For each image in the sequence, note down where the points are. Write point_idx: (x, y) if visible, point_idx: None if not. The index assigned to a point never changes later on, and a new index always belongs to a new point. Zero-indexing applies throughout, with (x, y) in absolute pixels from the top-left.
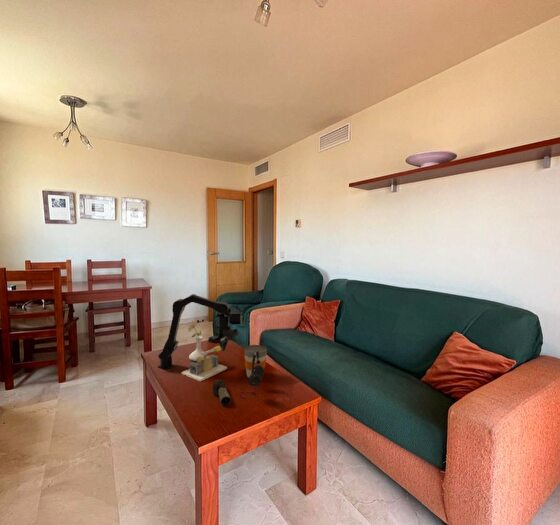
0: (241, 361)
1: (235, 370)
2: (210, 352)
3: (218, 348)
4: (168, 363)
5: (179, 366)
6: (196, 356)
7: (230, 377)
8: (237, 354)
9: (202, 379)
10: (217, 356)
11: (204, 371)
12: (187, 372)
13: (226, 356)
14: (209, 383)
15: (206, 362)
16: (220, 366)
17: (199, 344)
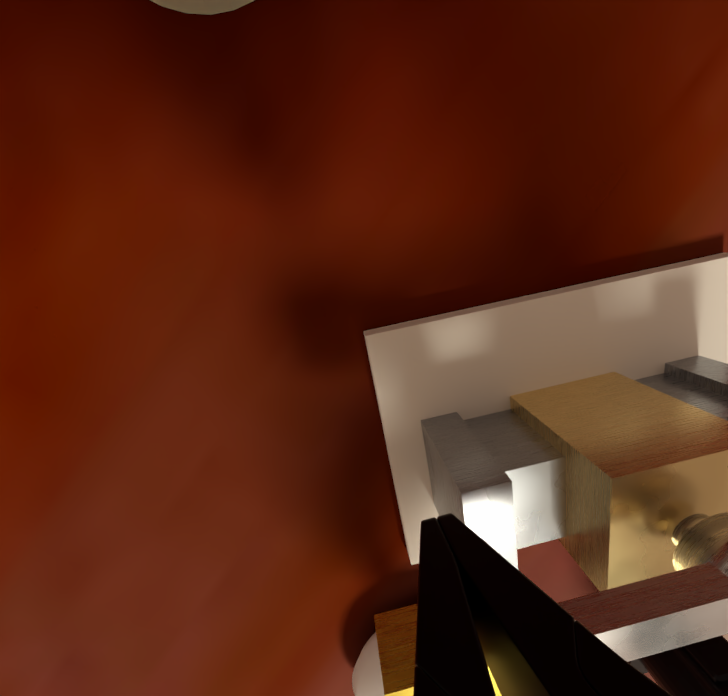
0: (105, 395)
1: (316, 226)
2: (641, 584)
3: None
4: (725, 641)
5: None
6: None
7: (482, 99)
8: (47, 573)
9: (712, 258)
10: (469, 500)
11: (616, 375)
12: None
13: (187, 584)
14: (712, 149)
15: (679, 425)
16: (411, 394)
17: None
